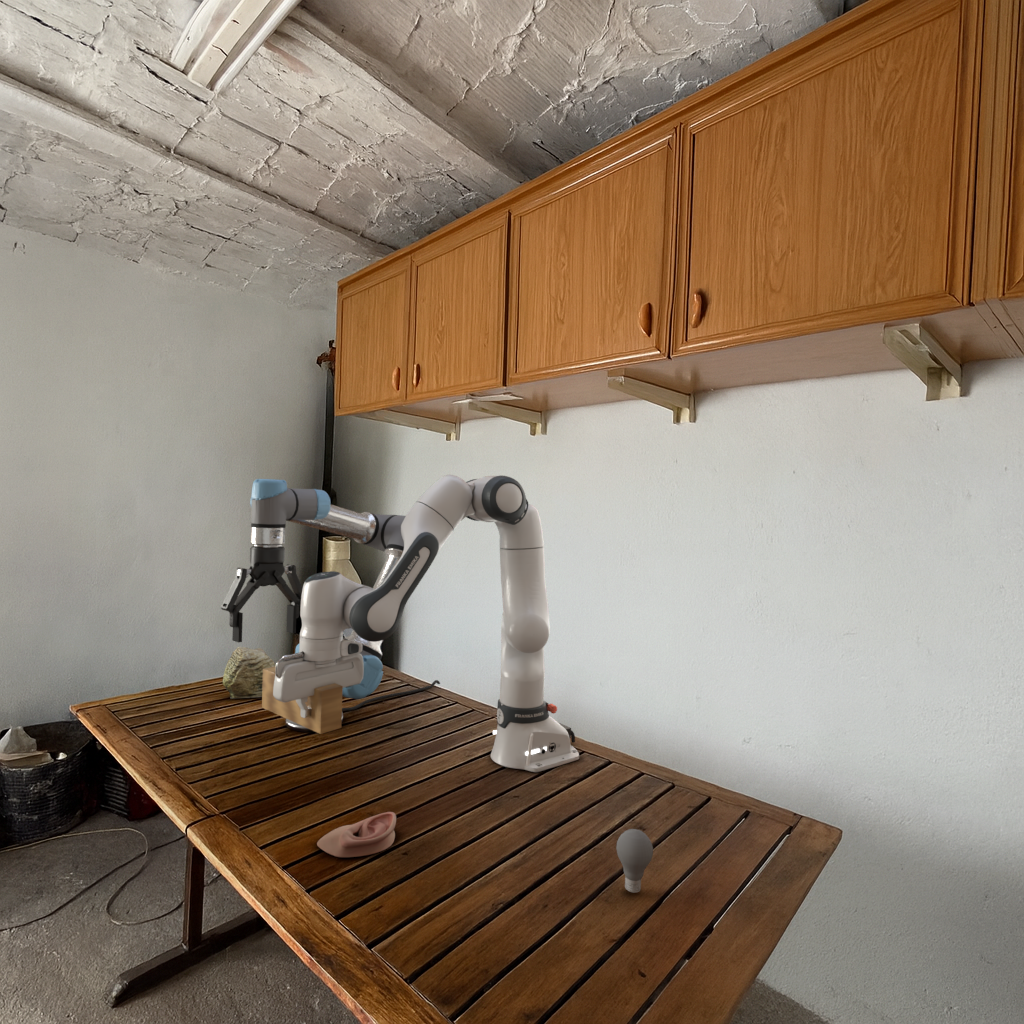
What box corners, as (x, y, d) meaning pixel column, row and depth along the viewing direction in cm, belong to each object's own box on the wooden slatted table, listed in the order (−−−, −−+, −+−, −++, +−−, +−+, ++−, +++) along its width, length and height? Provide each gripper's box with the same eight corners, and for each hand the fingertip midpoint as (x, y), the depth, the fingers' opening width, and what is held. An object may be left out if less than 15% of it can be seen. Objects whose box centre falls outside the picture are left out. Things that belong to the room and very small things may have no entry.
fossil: (218, 695, 195) (220, 647, 195) (278, 685, 208) (279, 640, 207) (228, 703, 189) (230, 653, 188) (289, 692, 201) (290, 645, 201)
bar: (261, 707, 145) (262, 668, 145) (282, 702, 149) (283, 664, 149) (320, 734, 130) (321, 691, 130) (341, 727, 134) (342, 685, 134)
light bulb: (610, 879, 108) (613, 822, 108) (644, 879, 109) (647, 822, 109) (619, 902, 102) (622, 840, 102) (655, 901, 103) (658, 840, 103)
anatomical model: (309, 830, 112) (339, 800, 124) (308, 852, 113) (338, 821, 124) (379, 841, 110) (403, 810, 121) (378, 864, 110) (402, 831, 121)
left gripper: (223, 549, 134) (220, 648, 135) (323, 544, 154) (320, 631, 155) (206, 546, 139) (203, 642, 140) (305, 542, 159) (302, 626, 159)
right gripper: (284, 659, 125) (283, 729, 125) (368, 643, 140) (366, 705, 141) (267, 654, 129) (266, 721, 129) (351, 638, 144) (349, 698, 145)
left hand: (265, 636), depth 147 cm, fingers open, 13 cm apart
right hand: (319, 712), depth 135 cm, fingers closed on bar, 5 cm apart
